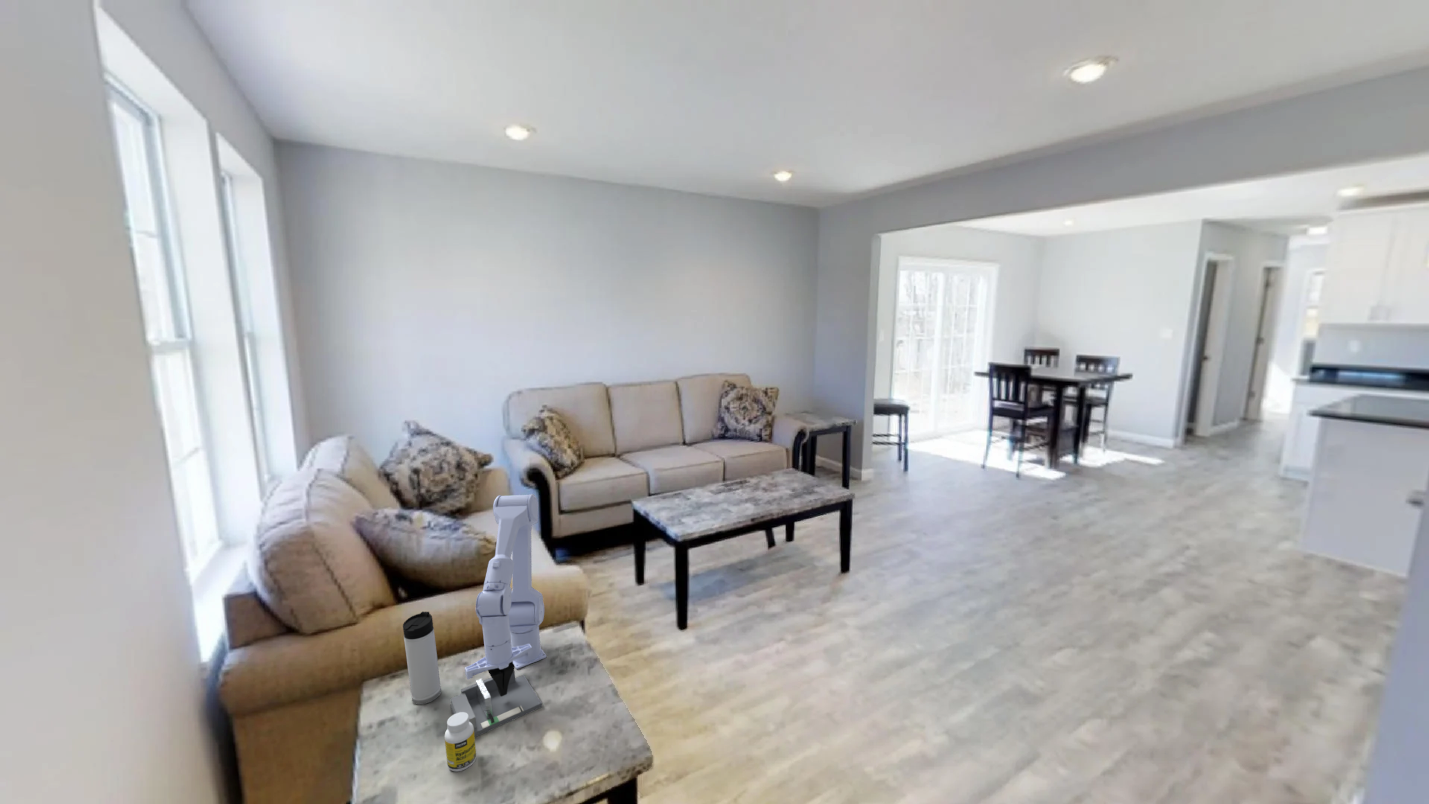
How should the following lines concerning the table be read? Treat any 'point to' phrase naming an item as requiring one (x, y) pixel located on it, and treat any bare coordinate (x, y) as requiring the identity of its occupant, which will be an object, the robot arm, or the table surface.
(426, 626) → the travel mug
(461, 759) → the supplement bottle
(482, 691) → the paddle
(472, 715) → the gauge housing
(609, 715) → the table surface
